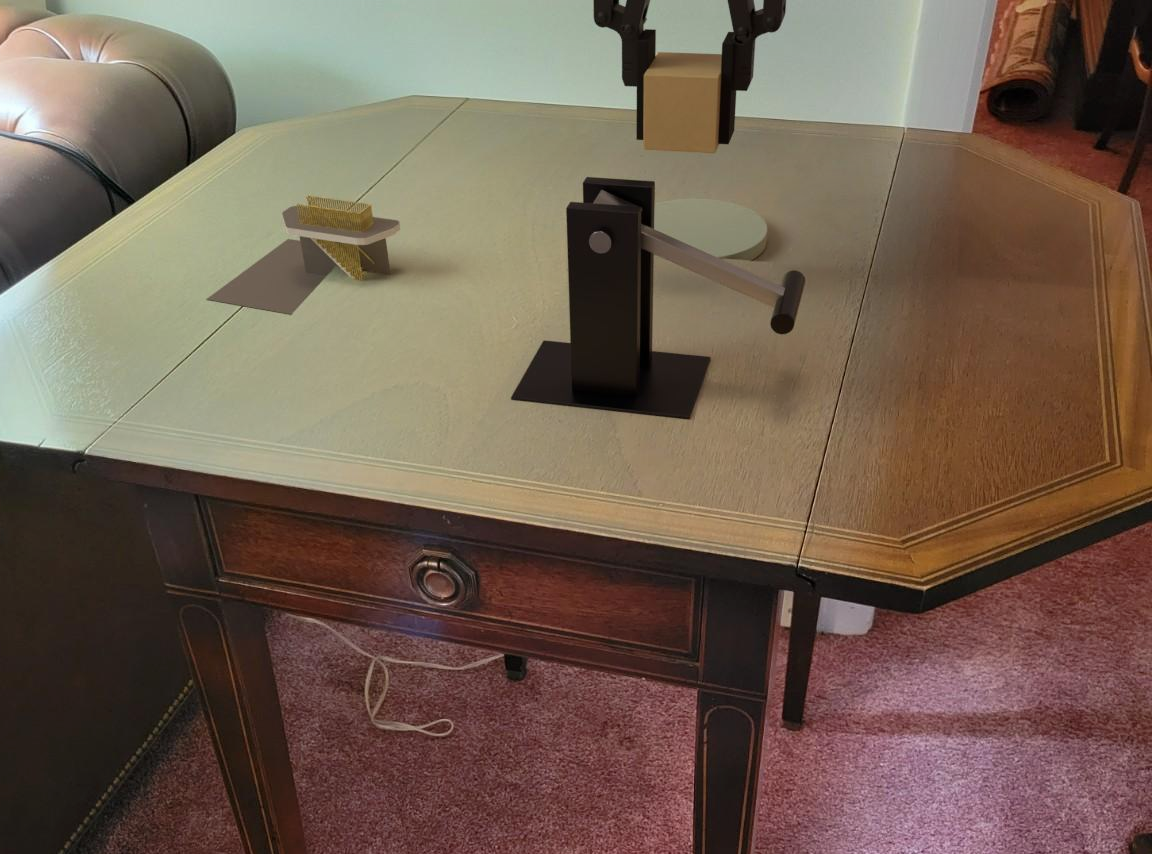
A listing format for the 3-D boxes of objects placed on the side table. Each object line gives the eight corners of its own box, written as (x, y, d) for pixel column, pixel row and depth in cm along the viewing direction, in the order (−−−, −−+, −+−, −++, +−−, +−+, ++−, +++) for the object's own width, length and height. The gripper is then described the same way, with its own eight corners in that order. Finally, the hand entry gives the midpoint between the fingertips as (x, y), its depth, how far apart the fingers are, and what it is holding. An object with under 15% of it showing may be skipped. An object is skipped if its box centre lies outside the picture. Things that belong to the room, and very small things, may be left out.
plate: (775, 217, 104) (776, 203, 103) (755, 278, 95) (756, 264, 94) (638, 207, 107) (638, 193, 106) (606, 266, 98) (606, 252, 97)
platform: (406, 334, 90) (395, 251, 86) (206, 299, 96) (186, 219, 92) (476, 267, 99) (469, 188, 94) (288, 238, 104) (273, 162, 100)
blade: (796, 300, 78) (812, 269, 77) (784, 345, 74) (801, 312, 72) (596, 211, 78) (608, 177, 77) (572, 250, 74) (585, 215, 72)
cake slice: (726, 128, 86) (729, 54, 83) (715, 153, 83) (718, 77, 80) (657, 124, 88) (658, 51, 84) (643, 150, 84) (643, 74, 81)
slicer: (709, 371, 85) (720, 175, 76) (688, 432, 79) (697, 228, 70) (544, 354, 87) (534, 163, 78) (511, 412, 81) (498, 213, 72)
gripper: (861, -284, 71) (821, 122, 86) (562, -276, 75) (573, 111, 90) (851, -270, 65) (810, 161, 80) (529, -262, 69) (547, 147, 84)
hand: (685, 134), depth 85 cm, fingers closed on cake slice, 5 cm apart
